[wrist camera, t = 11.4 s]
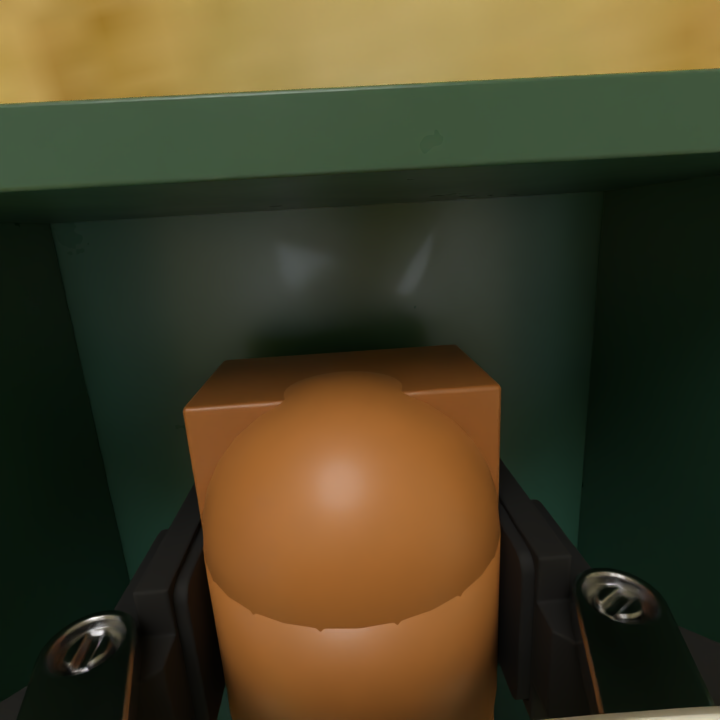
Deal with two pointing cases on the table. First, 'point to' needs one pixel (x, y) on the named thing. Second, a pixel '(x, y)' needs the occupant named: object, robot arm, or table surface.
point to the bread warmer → (361, 305)
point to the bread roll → (352, 533)
